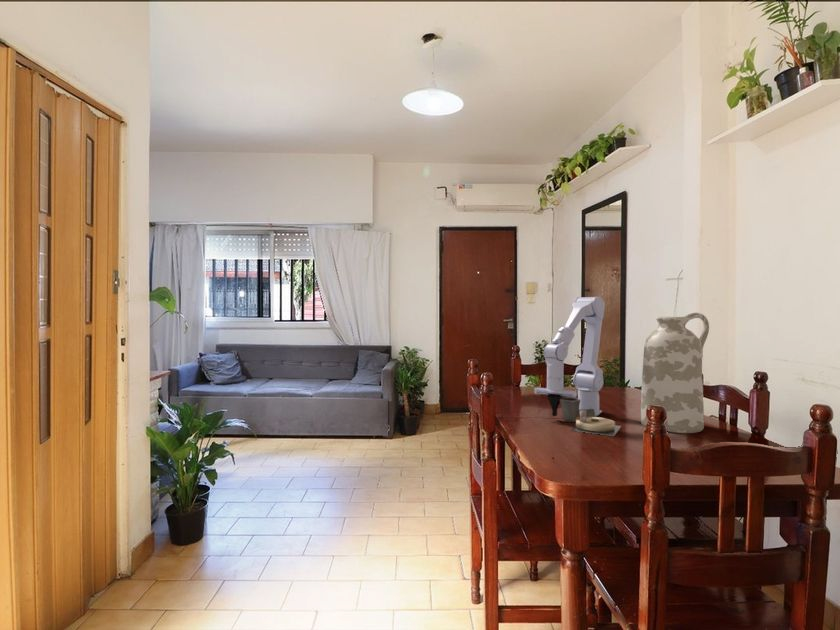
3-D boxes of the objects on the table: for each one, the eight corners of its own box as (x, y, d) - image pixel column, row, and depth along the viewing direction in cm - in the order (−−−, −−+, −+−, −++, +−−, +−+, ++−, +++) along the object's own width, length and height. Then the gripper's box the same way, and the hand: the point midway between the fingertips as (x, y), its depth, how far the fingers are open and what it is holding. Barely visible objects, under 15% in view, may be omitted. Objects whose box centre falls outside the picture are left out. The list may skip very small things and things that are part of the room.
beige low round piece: (568, 425, 156) (568, 409, 156) (590, 420, 163) (590, 405, 162) (600, 433, 146) (600, 415, 146) (622, 427, 153) (622, 411, 153)
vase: (644, 431, 151) (644, 312, 151) (637, 418, 169) (637, 312, 168) (716, 436, 145) (717, 312, 144) (701, 422, 162) (702, 312, 162)
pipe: (596, 422, 163) (598, 400, 163) (563, 424, 161) (564, 401, 160) (587, 417, 169) (588, 395, 169) (554, 418, 167) (555, 396, 166)
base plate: (581, 422, 163) (581, 421, 163) (621, 426, 156) (621, 426, 156) (571, 430, 151) (571, 430, 151) (614, 436, 145) (614, 435, 145)
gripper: (531, 377, 167) (531, 415, 167) (573, 380, 159) (572, 420, 159) (537, 375, 173) (537, 411, 173) (578, 378, 165) (577, 416, 165)
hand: (554, 415), depth 166 cm, fingers closed
